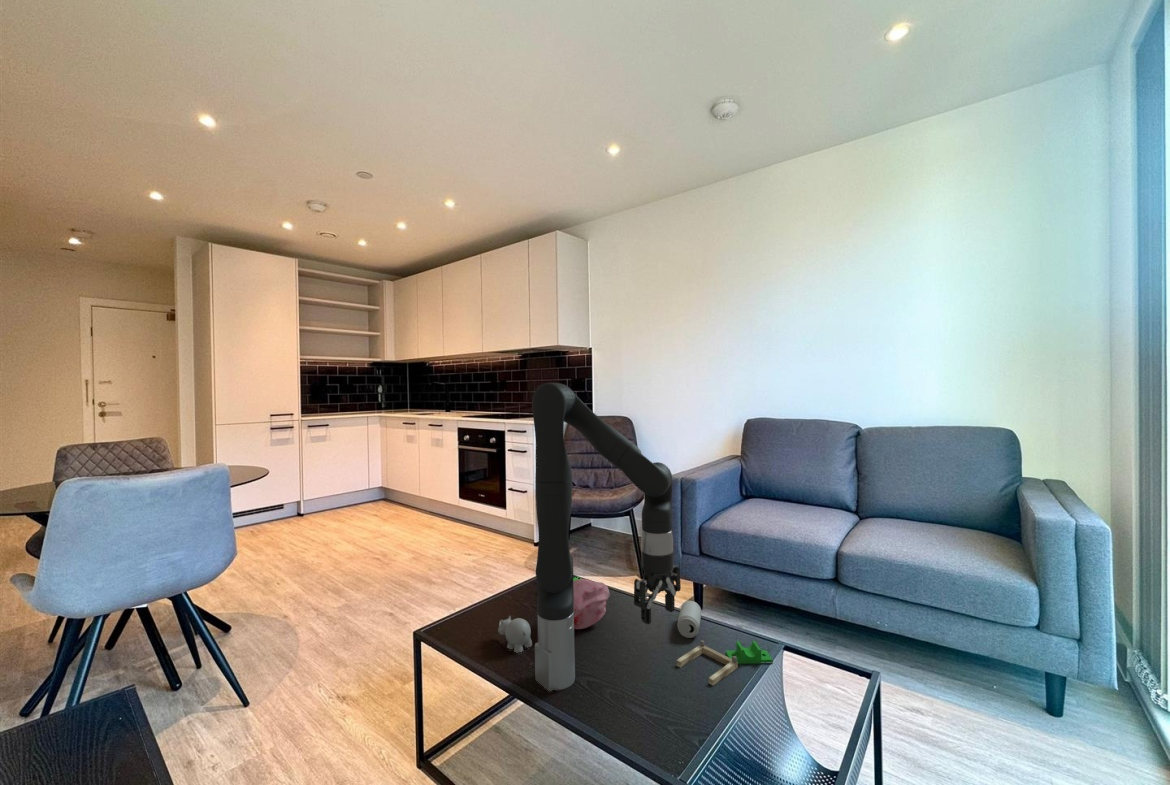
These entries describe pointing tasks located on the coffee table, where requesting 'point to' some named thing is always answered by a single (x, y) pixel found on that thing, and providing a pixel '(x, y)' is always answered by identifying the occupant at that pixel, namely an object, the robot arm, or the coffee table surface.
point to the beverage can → (689, 619)
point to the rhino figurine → (516, 633)
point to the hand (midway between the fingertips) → (658, 616)
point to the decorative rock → (589, 602)
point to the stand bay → (702, 649)
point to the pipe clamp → (749, 654)
